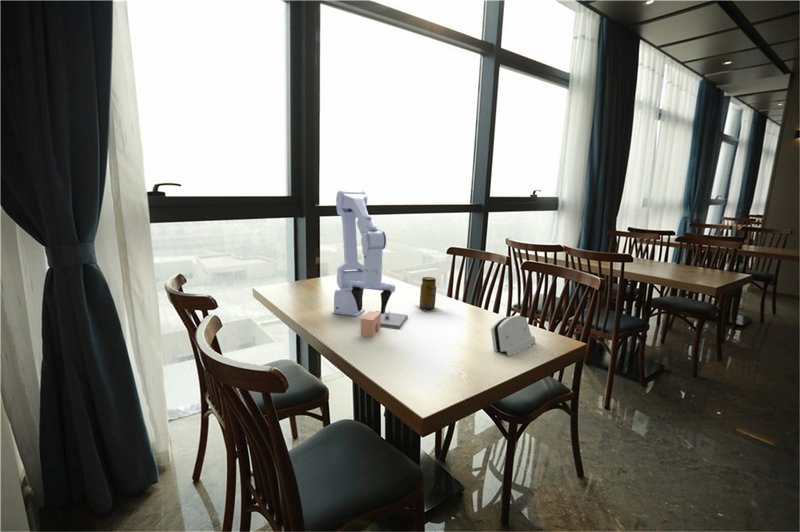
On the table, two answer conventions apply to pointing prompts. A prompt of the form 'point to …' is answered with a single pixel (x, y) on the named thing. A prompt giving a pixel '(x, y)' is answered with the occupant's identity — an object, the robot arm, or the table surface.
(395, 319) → the plate
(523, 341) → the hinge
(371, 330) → the block
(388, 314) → the steel stub
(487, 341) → the table surface
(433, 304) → the condiment
